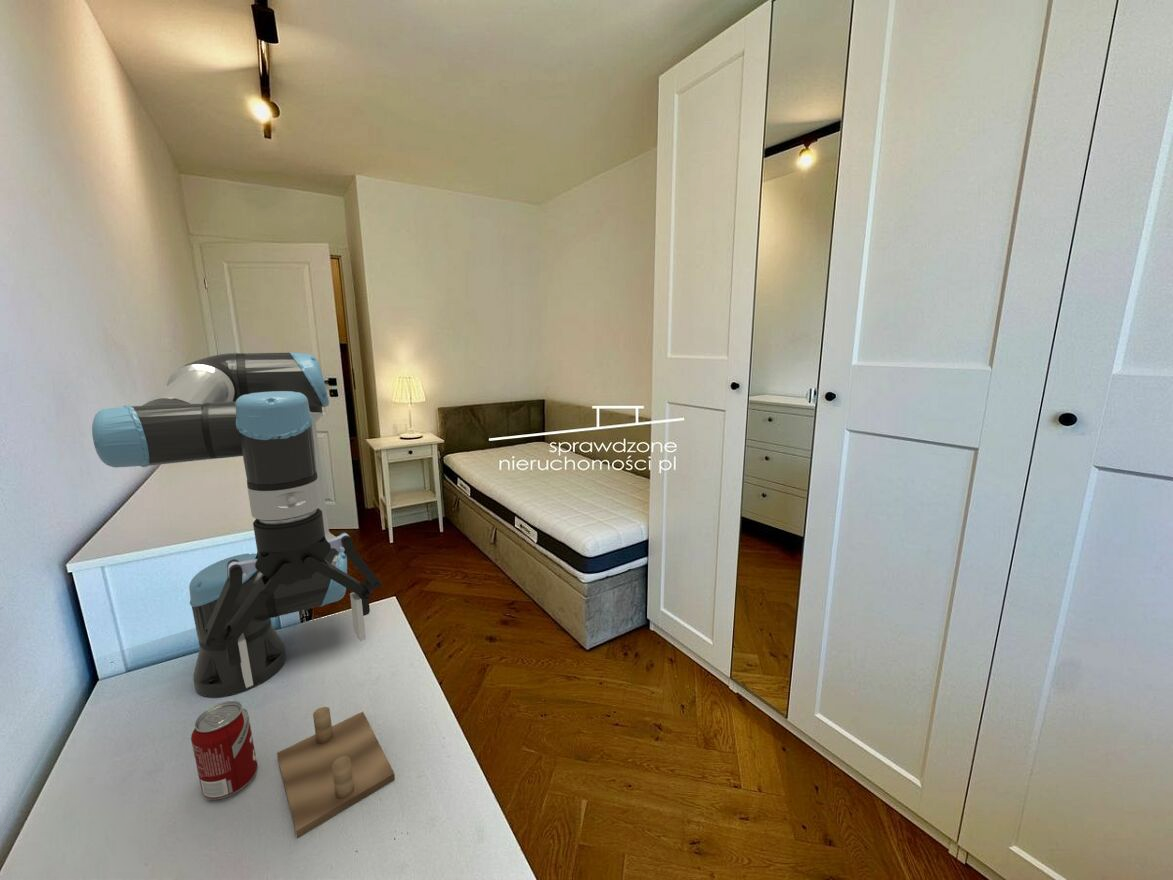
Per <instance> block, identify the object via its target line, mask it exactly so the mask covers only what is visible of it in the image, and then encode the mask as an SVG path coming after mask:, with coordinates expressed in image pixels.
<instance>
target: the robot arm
mask: <svg viewBox="0 0 1173 880" xmlns="http://www.w3.org/2000/svg"><path fill="white" fill-rule="evenodd" d="M325 383H326V382H325V379H324V376H323V373H322V370H321V366H320V363H319V360H318V359H317V358H316V356H314V354H313V355H312V354H311V353H300V352H291V351H289V352H256V353H255V352H251V353H250V352H248V353H245V352H243V353H241V352H240V353H238V352H231V353H229V352H228V353H222V354H216V355H215V354H214V355H211V356H207V357H203V358H201V359H197V360H195V361H192V362H189V363H186V364H185V365H183V366H180V367H179V368H177V370H174V372H172V373H171V375H170V376H169V378H168V380H167V383H166V386H165V387H164V388H163V389H161V390H160V391H159V392H157V393H156V394H155V395H154V396H152V397H151V398H150V399H148V400H147V401H146V402H145V403H144V404H142V405H132V406H131V405H130V404H129V405H127V404H126V405H124V406H119V407H118V406H117V407H107V408H106V407H105V408H102V409H100V410H99V411H97V413H95V415H94V417H93V420H92V424H91V433H92V434H91V436H92V441H93V445H94V448H95V451H96V454H97V456H98V458H99V459H100V461H101V462H102V463H104V465H106V466H108V467H112V468H130V467H131V468H132V467H133V468H134V467H141V468H146V467H149V466H159V465H167V464H169V465H170V464H177V463H187V462H197V461H203V460H204V461H206V460H215V459H219V460H220V459H227V458H228V459H229V458H238V457H242V458H243V464H244V471H245V476H246V485H247V495H248V500H249V506H250V514H251V515H250V516H251V517H252V518H254V519H255V520H254V521H253V522H252V527H253V533H254V539H255V544H256V551H257V553H254V552H253V553H242V554H237V555H233V556H230V557H227V558H224V559H221V560H218V561H216V562H215V563H212V564H210V565H208V566H206V567H204V568H203V569H201V570H200V571H198V573H196V574H195V575H194V576H193V577H192V578H191V580H190V582H189V586H188V588H189V598H190V599H189V605H190V606H191V611H192V614H193V620H194V624H195V625H194V626H195V630H196V635H197V639H198V645H199V650H198V654H197V658H196V662H195V667H194V671H193V676H192V677H193V679H192V680H193V684H194V688H195V691H196V692H197V693H198V694H199V695H201V696H204V697H210V698H218V697H226V696H232V695H235V694H239V693H242V692H246V691H247V690H249V689H252V688H254V687H257V686H258V685H260V684H262V683H264V682H265V681H267V680H269V679H270V678H272V677H273V676H274V675H275V674H277V673H278V671H280V670H281V669H282V667H283V666H284V665H285V663H286V661H287V656H288V655H287V650H286V645H285V642H284V641H283V640H282V638H281V637H280V635H279V634H278V632H277V630H276V629H275V627H274V626H273V625H272V619H273V618H276V617H281V616H285V615H290V614H293V613H297V612H298V613H299V612H302V611H305V610H310V609H313V608H317V607H323V606H325V605H328V604H331V603H336V602H338V601H340V600H342V599H343V598H344V597H345V595H346V592H347V589H348V590H349V591H350V592H351V593H349V597H350V598H349V599H350V607H351V614H352V625H353V632H354V634H355V636H356V637H357V639H358V640H359V641H360V642H362V641H364V640H366V629H365V620H364V619H365V618H364V616H368V615H370V611H371V610H370V609H371V608H370V598H371V595H372V594H371V591H373V590H376V589H379V588H380V587H381V586H382V581H381V580H380V579H379V578H378V577H377V576H376V574H375V573H374V572H373V571H372V569H371V568H370V567H369V566H368V565H367V564H366V562H365V561H364V559H363V558H362V557H361V556H360V555H359V553H358V552H357V550H355V546H354V542H353V539H352V537H351V535H349V534H348V533H347V532H346V531H340V532H338V534H337V536H335V535H334V534H332V533H331V532H330V529H329V521H328V514H327V513H328V512H327V505H326V495H325V488H324V480H323V479H324V478H323V471H322V463H321V455H320V448H319V438H318V430H317V422H318V421H319V420H320V419H321V418H322V416H323V415H324V413H323V412H324V411H323V408H326V407H329V405H330V400H329V396H328V393H327V387H326V384H325ZM348 559H349V561H350V562H351V563H352V565H353V566H354V567H355V569H357V571H358V572H359V573H360V574H361V575H362V577H364V578H365V580H364V581H362V582H361V581H360V580H358V579H356V578H355V577H354V576H353V577H352V576H351V575H349V574H348Z"/></svg>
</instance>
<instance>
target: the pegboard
mask: <svg viewBox="0 0 1173 880" xmlns="http://www.w3.org/2000/svg"><path fill="white" fill-rule="evenodd" d="M312 718H313V726H314V732H315V733H314V734H313V735H311V736H309V737H307V738H305V739H303V740H301V741H299V742H298V741H297V742H296V743H295V744H292V745H290V746H289V747H286V748H284V749H282V750H280V751H278V752H276V755H277V763H278V765H279V766H278V767H279V769H280V773H281V777H282V781H283V786H284V790H285V793H286V798H287V802H288V807H289V810H290V811H289V812H290V816H291V818H292V819H291V820H292V822H293V826H294V830H295V835H296V839H298V838H300V837H302V836H304V835H305V834H307V833H309V831H312V830H314V829H315V828H317V827H318V826H321V825H322V824H323V823H325V822H327V821H329V820H330V819H331V818H333V817H334V816H337V815H338V814H340V813H342V812H344V811H345V810H346V809H349V808H350V807H352V806H353V805H355V804H357V803H358V802H361V801H362V800H363V799H365V798H367V797H368V796H370V795H372V794H374V793H375V792H377V791H379V790H380V789H382V788H384V787H385V786H387V785H389V784H390V783H392V782H394V781H395V780H396V778H395V777H396V776H395V772H394V770H393V768H392V766H391V764H390V762H389V761H388V759H387V756H386V754H385V752H384V750H383V748H382V746H381V744H380V743H379V740H378V738H377V737H376V733H375V731H373V729H372V726H371V725H370V722H369V721H368V718H367V717H366V714H365V713H364V711H361V712H359V713H357V714H355V715H352V716H350V717H349V718H346V719H344V720H343V721H340V722H338V723H336V724H334V725H332V717H331V709H330V707H328V706H321V707H319V708H317V709H316V710H315V711H314V712H313V713H312Z"/></svg>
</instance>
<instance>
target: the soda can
mask: <svg viewBox="0 0 1173 880" xmlns="http://www.w3.org/2000/svg"><path fill="white" fill-rule="evenodd" d="M190 741H191V745H192V751H193V754H194V760H195V765H196V768H197V769H196V771H197V775H198V779H199V785H200V789H201V794H202V796H203V797H204V798H205V799H206V800H217V801H218V800H222V799H225V798H228V797H230V796H232V795H234V794H237V793H238V792H240V791H242V790H243V788H245V787H246V786H247V785H249V784H250V782H251V781H252V780H253V779H254V777H256V776H255V775H256V774H257V772H258V768H259V767H258V761H257V755H256V749H255V744H254V736H253V732H252V725H251V720H250V714H249V711H248V710H247V709H245V708H243V706H242V703H241V702H239V701H236V700H235V701H233V700H232V701H229V700H228V701H225V702H221V703H218V704H215V705H213V706H212V707H210V708H208V709H206V710H204V711H203V712H202V713H201V714H200V715H199V716H198V717H197V719H196V720H195V722H194V729H193V731H192V732H191V737H190Z"/></svg>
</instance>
